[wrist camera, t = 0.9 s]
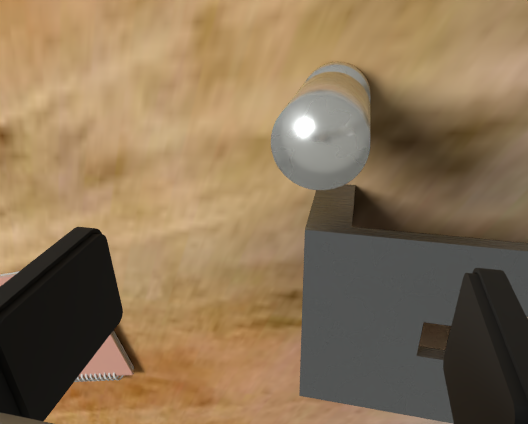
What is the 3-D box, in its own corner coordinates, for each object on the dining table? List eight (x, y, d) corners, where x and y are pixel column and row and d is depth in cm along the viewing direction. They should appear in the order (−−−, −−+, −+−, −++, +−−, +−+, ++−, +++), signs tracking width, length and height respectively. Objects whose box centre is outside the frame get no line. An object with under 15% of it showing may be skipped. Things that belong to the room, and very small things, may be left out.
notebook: (-13, 377, 60) (-24, 388, 59) (-83, 283, 54) (-98, 293, 52) (143, 370, 52) (135, 383, 50) (81, 257, 45) (69, 267, 43)
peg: (373, 62, 29) (375, 96, 19) (367, 131, 32) (365, 193, 22) (303, 61, 30) (270, 93, 20) (301, 128, 33) (271, 186, 23)
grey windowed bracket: (625, 205, 30) (702, 268, 23) (556, 365, 37) (599, 449, 30) (318, 182, 34) (305, 229, 27) (311, 329, 42) (299, 395, 35)
